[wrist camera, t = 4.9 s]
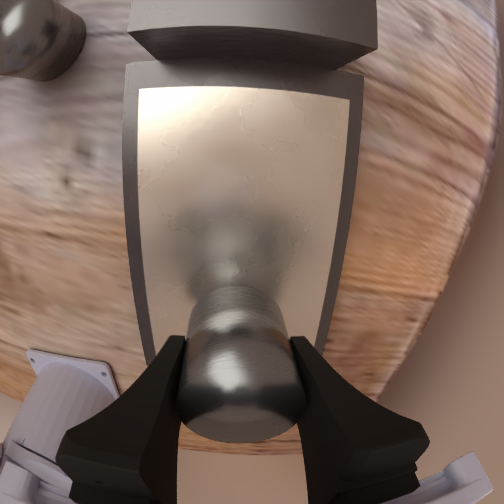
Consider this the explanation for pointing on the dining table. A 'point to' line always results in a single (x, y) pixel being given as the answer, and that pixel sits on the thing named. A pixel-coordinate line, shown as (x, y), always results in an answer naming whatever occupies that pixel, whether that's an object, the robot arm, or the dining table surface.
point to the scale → (241, 155)
